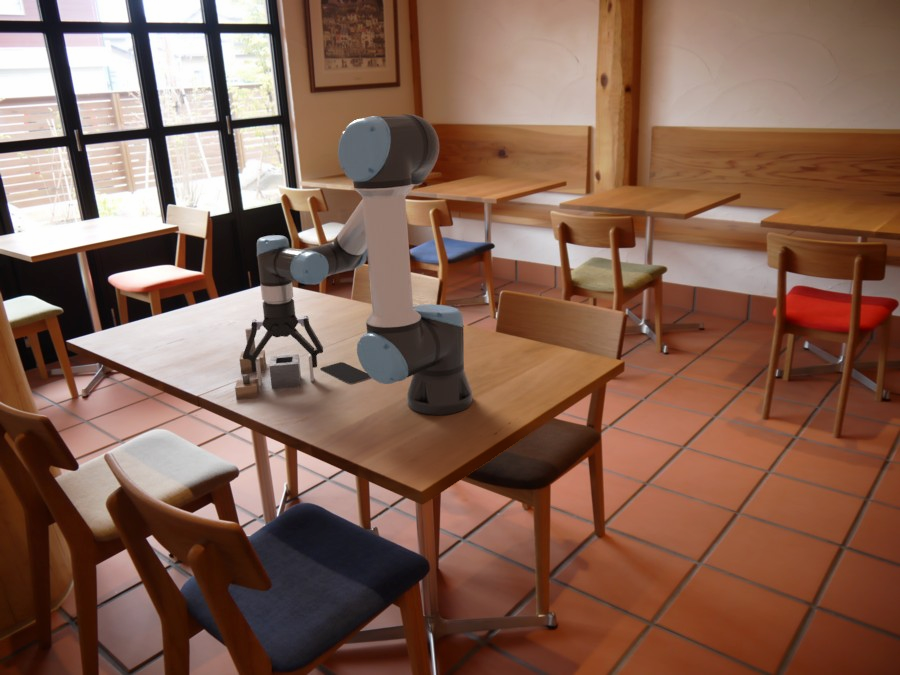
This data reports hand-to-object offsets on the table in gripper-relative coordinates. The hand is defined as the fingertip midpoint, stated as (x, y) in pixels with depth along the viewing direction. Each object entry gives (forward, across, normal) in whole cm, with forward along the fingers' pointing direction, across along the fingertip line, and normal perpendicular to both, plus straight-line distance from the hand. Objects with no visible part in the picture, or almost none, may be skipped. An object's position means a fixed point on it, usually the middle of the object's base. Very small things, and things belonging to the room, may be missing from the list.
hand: (286, 381), depth 188 cm
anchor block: (0, +9, +6) cm, 11 cm away
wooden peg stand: (0, +9, -12) cm, 15 cm away
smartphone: (+1, -15, -3) cm, 15 cm away
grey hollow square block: (0, 0, 0) cm, 0 cm away
